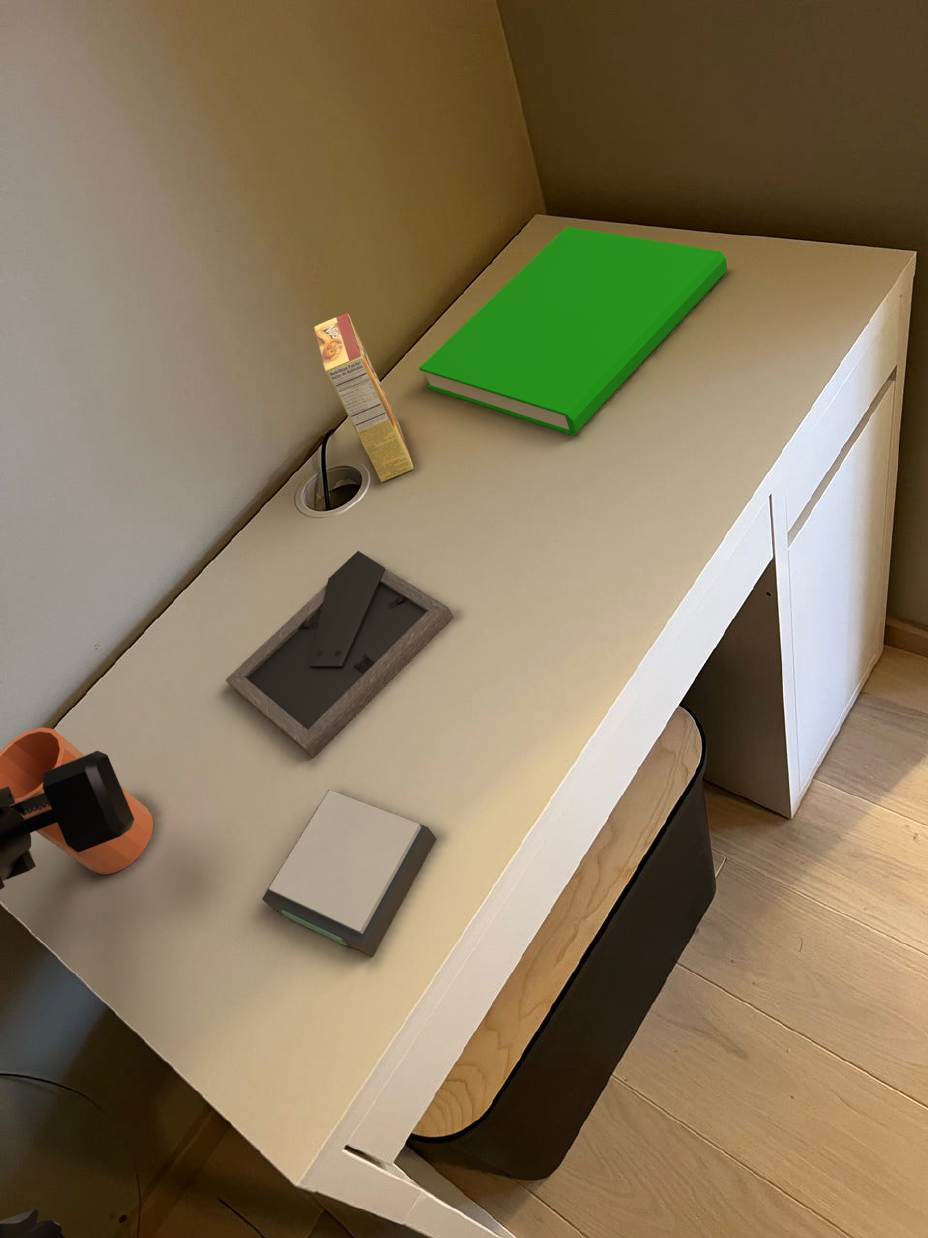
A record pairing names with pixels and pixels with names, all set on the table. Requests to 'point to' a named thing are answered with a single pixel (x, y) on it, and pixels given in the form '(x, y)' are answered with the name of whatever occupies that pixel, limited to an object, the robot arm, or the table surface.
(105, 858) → the cup
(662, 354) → the table surface
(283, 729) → the picture frame
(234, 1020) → the table surface
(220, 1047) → the table surface
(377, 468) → the candy box
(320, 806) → the scale
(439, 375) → the book
